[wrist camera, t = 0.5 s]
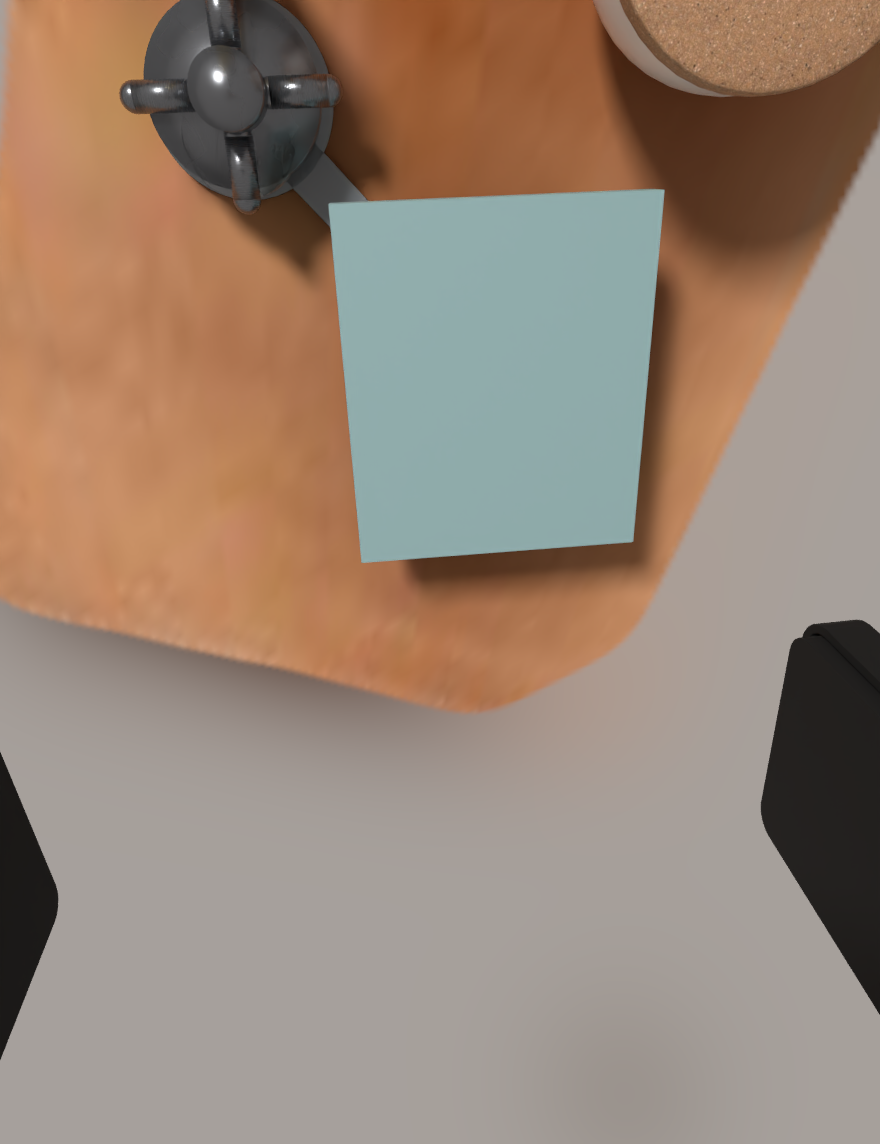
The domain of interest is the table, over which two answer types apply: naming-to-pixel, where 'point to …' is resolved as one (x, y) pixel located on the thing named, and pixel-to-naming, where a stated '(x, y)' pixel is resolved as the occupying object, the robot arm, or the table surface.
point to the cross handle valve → (233, 95)
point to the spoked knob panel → (489, 359)
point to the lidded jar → (741, 41)
